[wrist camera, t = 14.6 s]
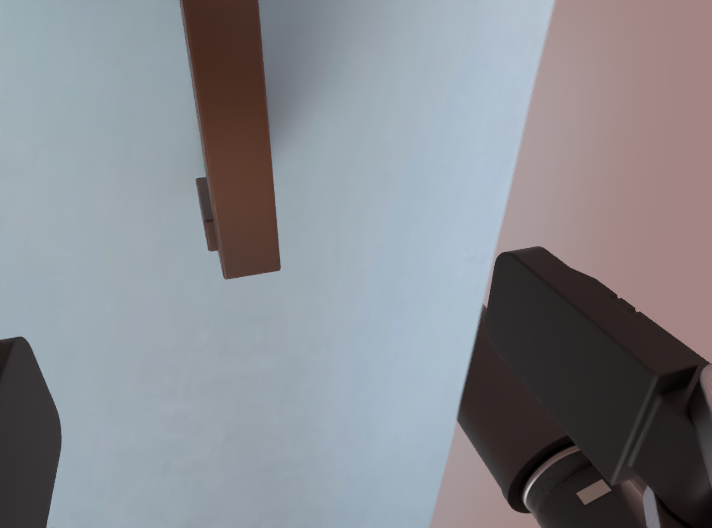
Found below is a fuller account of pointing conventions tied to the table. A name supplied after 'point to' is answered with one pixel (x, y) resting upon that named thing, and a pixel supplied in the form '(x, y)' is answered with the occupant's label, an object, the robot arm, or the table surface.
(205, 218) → the door handle
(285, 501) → the table surface
